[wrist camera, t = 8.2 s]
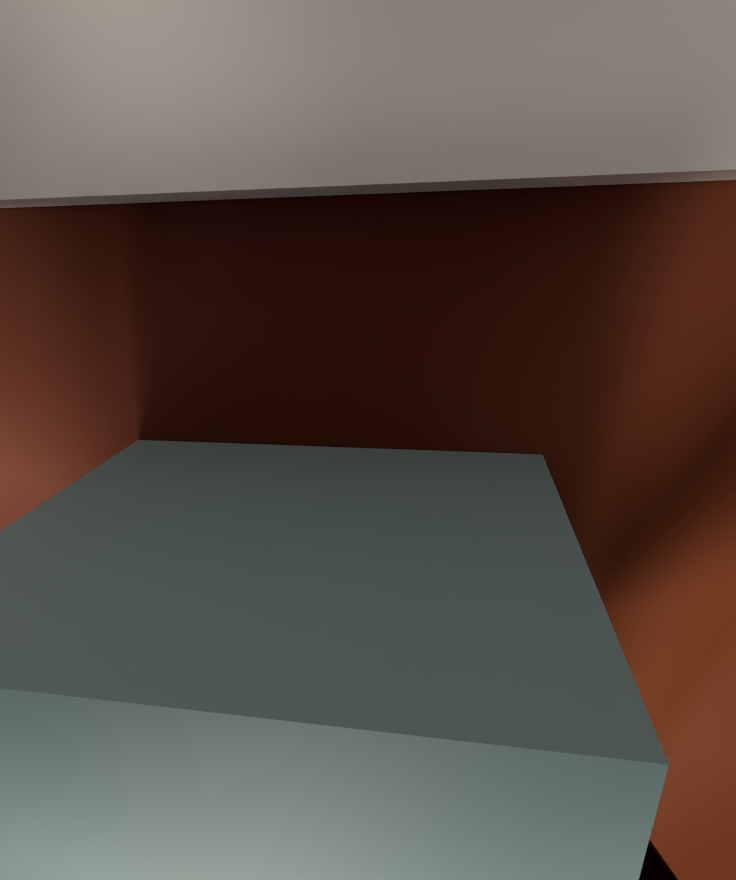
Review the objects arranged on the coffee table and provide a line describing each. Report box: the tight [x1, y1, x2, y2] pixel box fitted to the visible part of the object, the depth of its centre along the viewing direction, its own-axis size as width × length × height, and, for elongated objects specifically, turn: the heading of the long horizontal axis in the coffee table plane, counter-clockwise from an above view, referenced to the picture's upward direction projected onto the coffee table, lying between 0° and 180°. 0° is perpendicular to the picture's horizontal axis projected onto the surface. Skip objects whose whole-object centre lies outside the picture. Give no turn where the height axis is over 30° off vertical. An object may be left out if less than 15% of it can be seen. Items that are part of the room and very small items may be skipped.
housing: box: [0, 440, 669, 880], centre depth 8 cm, size 7×9×6 cm
